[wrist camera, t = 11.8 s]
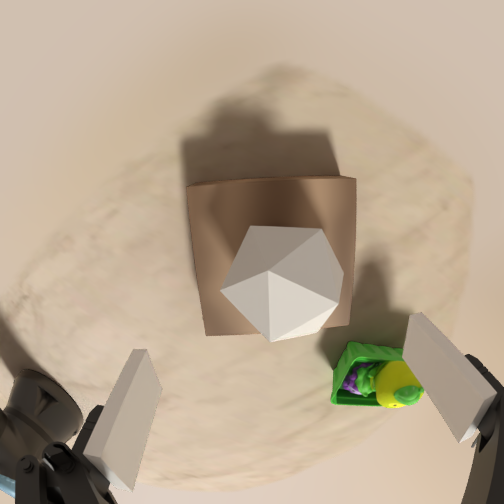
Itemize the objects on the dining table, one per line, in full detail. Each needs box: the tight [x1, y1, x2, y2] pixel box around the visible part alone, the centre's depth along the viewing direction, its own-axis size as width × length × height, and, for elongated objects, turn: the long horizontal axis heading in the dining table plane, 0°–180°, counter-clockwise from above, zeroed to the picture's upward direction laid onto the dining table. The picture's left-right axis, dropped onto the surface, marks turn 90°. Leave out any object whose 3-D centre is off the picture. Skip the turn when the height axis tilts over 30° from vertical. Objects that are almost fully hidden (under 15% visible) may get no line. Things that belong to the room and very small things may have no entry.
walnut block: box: [186, 176, 356, 336], centre depth 27 cm, size 14×14×5 cm
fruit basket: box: [331, 341, 424, 408], centre depth 28 cm, size 11×9×11 cm
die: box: [220, 226, 344, 342], centre depth 21 cm, size 8×9×10 cm
